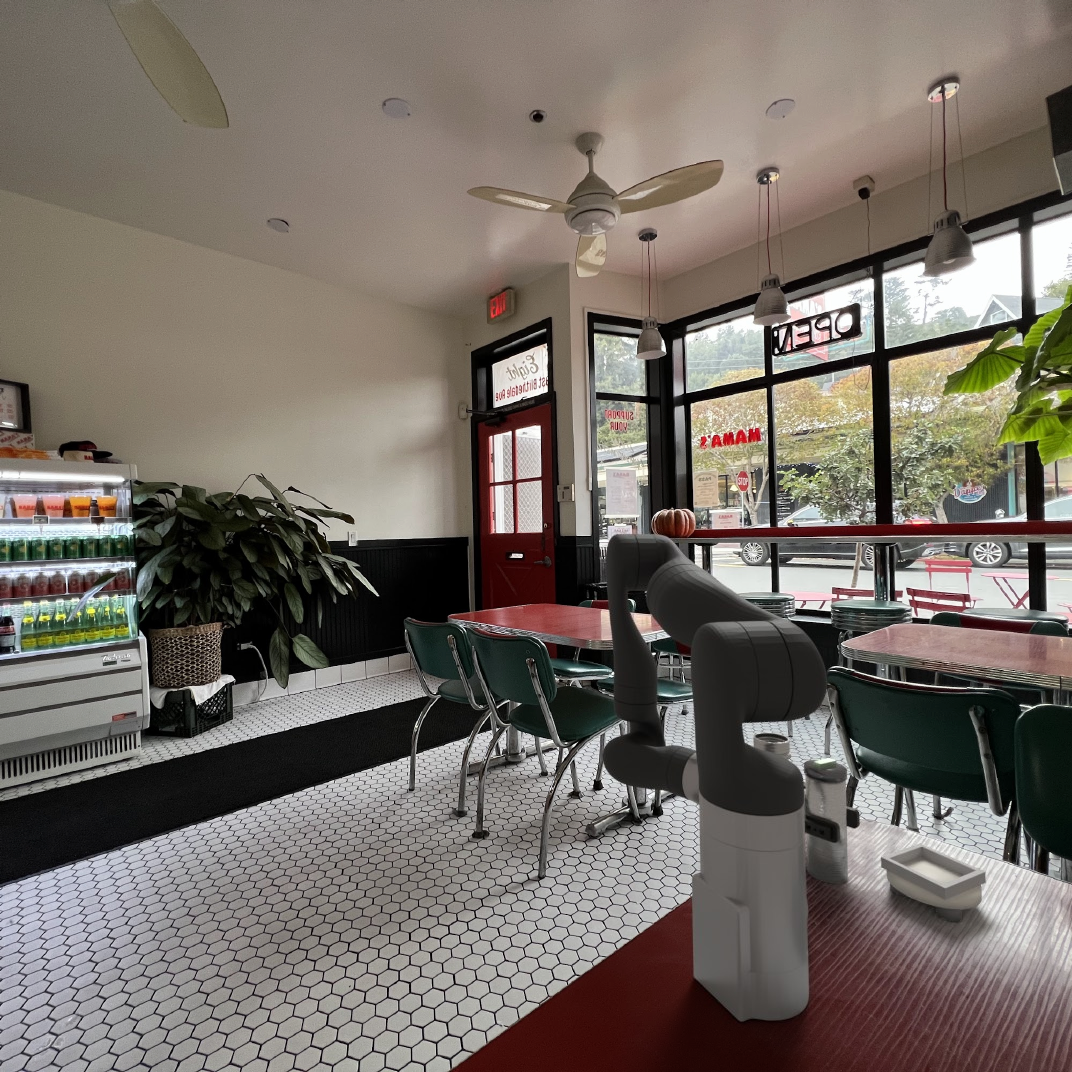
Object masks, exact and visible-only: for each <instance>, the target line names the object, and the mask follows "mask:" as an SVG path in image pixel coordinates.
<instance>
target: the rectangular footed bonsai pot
mask: <svg viewBox="0 0 1072 1072" xmlns="http://www.w3.org/2000/svg"><path fill="white" fill-rule="evenodd" d="M880 867H881V868H882V869H884V870H885V871H886V872H885V873H886V878H887V881H888V883H889V889H890V890H891V891H892V892H893V894H896V895H898V896H901V897H908V898H911V899H913V900H915V901H918V902H920V903H924V904H926V905H928V906H929V905H930V906H933V907H935V908H934V910H935V914H936V916H938V917H940V919H943V920H945V921H947V922H952V923H959V922H962V921H963V910H969V909H973V908H976V907H978V906H979V905H980V904H981V903H982V900H983V899H982V897H983V893H982V885H984V884H986V883H987V881H986V879H987V878H986V871H984V870H982V869H980V868H978V867H976V866H972V865H970V864H968V863H967V862H964V861H961V860H959V859H957V858H954V857H953V856H950V855H948V854H946V853H944V852H941V851H939V850H936V849H934V848H932V847H930V846H928V845H925V844H922V843H917V844H914V845H911V846H907V847H906V848H903V849H901V850H897V851H894V852H890V853H888V854H885V855H882V856H880Z"/></svg>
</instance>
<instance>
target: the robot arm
mask: <svg viewBox="0 0 1072 1072" xmlns="http://www.w3.org/2000/svg"><path fill="white" fill-rule="evenodd" d="M606 546H607V547H606V551H605V552H606V553H605V578H606V579H605V580H606V590H607V591H606V592H607V602H608V603H607V604H608V611H609V612H608V614H609V615H608V616H609V625H610V631H611V632H610V633H611V640H612V650H613V712H614V714H615V716H616V717H617V718H618V719H620V720H622V721H624V722H629V726H630V732H629V733H625V734H623V735H618V736H616V737H614V738H612V739H610V740H609V741H608V742H607V743H606V745H605V746H604V748H603V751H602V763H603V766H604V768H605V770H606V772H607V773H608V774H609V776H611V778H613V779H614V780H615V781H617V782H618V783H619V784H623V785H625V786H629V787H635V788H638V789H639V788H640V789H647V790H652V791H662V792H667V793H670V794H672V795H673V796H674V795H675V796H677V797H680V798H682V799H685V800H688V801H691V802H693V803H695V804H697V805H698V806H699V807H698V808H699V809H698V811H699V815H698V817H699V862H700V863H699V865H700V867H699V869H700V872H698V873H695V874H693V875H692V877H691V899H692V900H691V901H692V902H691V906H692V908H691V909H692V911H691V912H692V948H693V949H692V952H693V953H692V954H693V959H692V960H693V978H694V979H695V980H696V981H698V983H699V984H700V985H702V986H703V988H705V990H707V991H708V993H710V995H712V996H713V997H714V998H715V999H716V1000H717V1001H718V1002H719V1003H720V1004H721V1005H722V1006H723V1007H724V1008H725V1009H726V1010H728V1012H729V1013H730V1014H731V1015H732V1016H733V1017H735V1018H736V1019H737V1020H738V1021H739V1022H745V1021H747V1020H750V1019H757V1020H763V1021H783V1020H788V1019H791V1018H793V1017H796V1016H797V1015H799V1014H800V1013H802V1012H803V1011H804V1010H805V1008H806V1007H807V1005H808V1003H809V997H810V988H809V987H810V983H809V982H810V981H809V980H810V979H809V977H810V975H809V951H808V950H809V947H808V945H809V944H808V939H809V938H808V918H807V904H808V900H807V901H806V897H807V871H806V870H807V861H806V835H807V834H810V835H813V836H815V837H818V838H821V839H824V840H827V841H829V842H832V843H837V842H838V841H839V840H840V826H839V824H838V823H836V822H833V821H830V820H827V819H824V818H821V817H818V816H815V815H812V814H809V813H808V814H806V782H805V781H804V776H803V773H802V772H801V771H802V770H800V768H799V767H798V766H797V765H796V764H795V763H794V762H792V761H791V760H790V759H789V760H787V759H785V758H783V757H781V756H779V755H777V754H774V753H771V752H768V751H765V750H762V749H759V748H756V747H754V745H753V746H752V745H750V744H749V743H746V741H745V735H744V727H743V724H753V723H754V724H755V723H756V724H757V723H758V724H759V723H776V722H777V723H778V722H779V723H780V722H782V723H783V722H792V721H797V720H800V719H803V718H807V717H809V716H811V715H812V714H813V713H815V712H816V711H817V710H818V709H819V708H820V707H821V706H822V703H823V701H824V700H825V698H826V694H827V690H828V676H827V669H826V666H825V663H824V660H823V658H822V655H821V653H820V652H819V650H818V648H817V646H816V644H815V643H814V642H813V640H812V639H811V638H810V637H809V635H808V634H807V633H806V632H805V631H804V630H803V629H802V628H800V627H799V626H797V624H795V623H793V622H792V621H790V620H788V619H786V618H783V617H781V616H778V615H776V614H774V613H772V612H770V611H767V610H766V609H763V608H762V607H759V606H757V605H756V604H753V603H752V602H750V601H748V600H747V599H745V598H744V597H742V596H741V595H739V593H738V592H735V591H734V590H733V589H731V588H729V587H727V586H726V585H725V584H723V583H722V582H721V581H720V580H718V579H717V578H716V577H715V576H713V575H712V574H711V573H709V572H708V571H707V570H705V569H703V568H702V567H701V566H699V565H697V564H696V563H694V561H692V560H691V559H689V558H688V557H687V556H686V555H685V554H684V553H683V552H682V551H681V549H680V548H679V547H678V545H677V544H676V543H675V542H674V541H673V540H672V539H671V538H669V537H668V536H666V535H662V534H657V533H618V534H613V535H612V536H611V538H610V539H609V541H608V543H607V545H606ZM633 591H635V592H640V591H641V592H643V591H644V592H646V593H645V601H646V605H647V608H648V611H649V612H650V615H651V616H652V617H653V619H654V621H655V622H656V623H657V624H658V625H659V626H660V628H661V629H662V630H663V632H665V633H666V634H667V635H668V636H669V637H670V638H672V639H673V640H675V641H676V642H678V643H680V644H681V645H684V646H686V647H688V648H690V677H691V678H690V679H691V689H692V690H691V691H692V693H691V694H692V704H693V717H694V718H693V719H694V720H693V721H694V737H695V739H694V742H695V744H694V745H695V749H693V748H689V747H686V746H682V745H676V744H671V745H670V744H669V745H666V739H665V736H664V731H663V728H662V727H663V726H662V723H661V722H662V721H661V718H660V716H659V711H658V684H659V683H658V681H659V680H658V677H659V676H658V666H657V662H656V659H655V657H654V655H653V653H652V651H651V649H650V647H649V645H648V644H647V642H646V640H645V638H644V637H643V635H642V634H641V632H640V630H639V628H638V627H637V624H636V623H635V620H634V618H633V616H632V613H631V610H630V605H629V596H628V593H629V592H633ZM804 790H805V803H804ZM846 811H847V828H851V829H853V830H854V829H857V828H859V827H860V824H861V821H860V820H861V819H860V818H861V817H860V812H859V810H858V809H857V808H854V807H851V806H847V805H846Z"/></svg>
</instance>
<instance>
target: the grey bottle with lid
mask: <svg viewBox="0 0 1072 1072" xmlns="http://www.w3.org/2000/svg"><path fill="white" fill-rule="evenodd" d="M803 774H804V775H805V781H804V782H806V814H808V813H809V814H812V815H815V816H818V817H821V818H824V819H827V820H830V821H833V822H836V823H838V824H839V826H840V840H839V841H838V842H837V843H832V842H829V841H827V840H824V839H821V838H818V837H815V836H813V835H810V834H807V833H806V870H807V871H806V872H807V873H808V875H810V876H811V877H813V878H814V879H816V880H818V881H820V882H823V883H826V884H827V883H828V884H843V883H846V882H847V881H848V880H849V866H848V865H849V862H848V861H849V860H848V858H849V857H848V826H847V811H846V806H847V779H848V769H847V767H846V766H845V765H843V764H841V763H838V762H837V759H834V758H831V757H828V758H823V759H810V760H807V761H805V762H803Z"/></svg>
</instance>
